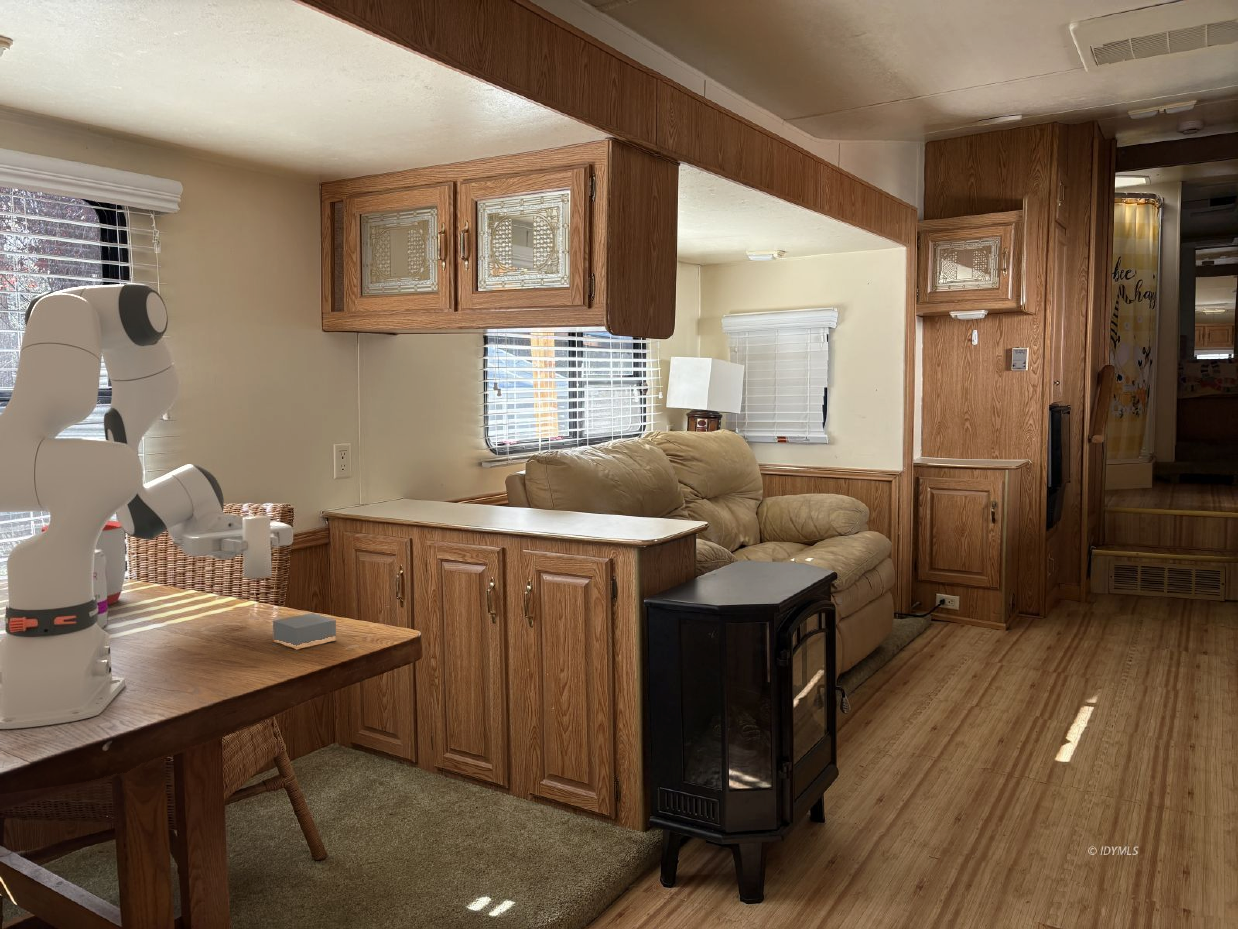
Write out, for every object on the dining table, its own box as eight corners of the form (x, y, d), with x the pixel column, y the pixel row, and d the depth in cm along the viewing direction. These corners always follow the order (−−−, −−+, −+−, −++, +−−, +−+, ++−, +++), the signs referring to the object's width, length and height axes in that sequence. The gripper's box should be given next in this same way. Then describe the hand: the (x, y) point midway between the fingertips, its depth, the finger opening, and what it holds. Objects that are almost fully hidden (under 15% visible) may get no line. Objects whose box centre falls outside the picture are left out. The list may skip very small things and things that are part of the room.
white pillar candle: (272, 577, 173) (271, 518, 172) (244, 579, 171) (243, 519, 170) (270, 572, 177) (269, 514, 177) (243, 574, 175) (241, 516, 175)
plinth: (336, 641, 174) (335, 620, 173) (296, 650, 168) (296, 628, 167) (312, 633, 179) (311, 613, 179) (273, 642, 173) (273, 620, 172)
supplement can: (92, 621, 187) (89, 546, 185) (116, 626, 182) (114, 550, 181) (50, 629, 180) (47, 552, 178) (74, 636, 175) (71, 557, 174)
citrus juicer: (21, 607, 197) (17, 513, 196) (105, 592, 212) (102, 505, 210) (58, 618, 189) (54, 519, 187) (143, 602, 203) (140, 510, 201)
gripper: (168, 525, 174) (203, 533, 165) (270, 515, 190) (308, 521, 181) (169, 559, 174) (204, 569, 166) (271, 545, 190) (308, 554, 181)
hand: (259, 544), depth 173 cm, fingers closed on white pillar candle, 5 cm apart
